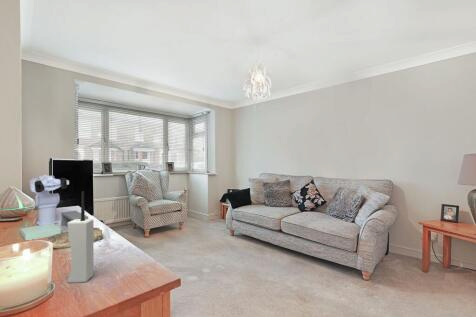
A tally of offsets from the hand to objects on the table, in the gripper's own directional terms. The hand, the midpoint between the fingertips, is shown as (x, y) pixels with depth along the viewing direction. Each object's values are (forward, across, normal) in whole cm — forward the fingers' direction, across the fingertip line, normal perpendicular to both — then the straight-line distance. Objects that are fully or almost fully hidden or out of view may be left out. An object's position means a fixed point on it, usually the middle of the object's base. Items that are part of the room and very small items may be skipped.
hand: (53, 186), depth 110 cm
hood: (+1, +6, +22) cm, 23 cm away
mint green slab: (+2, -6, +21) cm, 22 cm away
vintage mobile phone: (+62, -4, +18) cm, 65 cm away
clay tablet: (+25, +2, +21) cm, 33 cm away
